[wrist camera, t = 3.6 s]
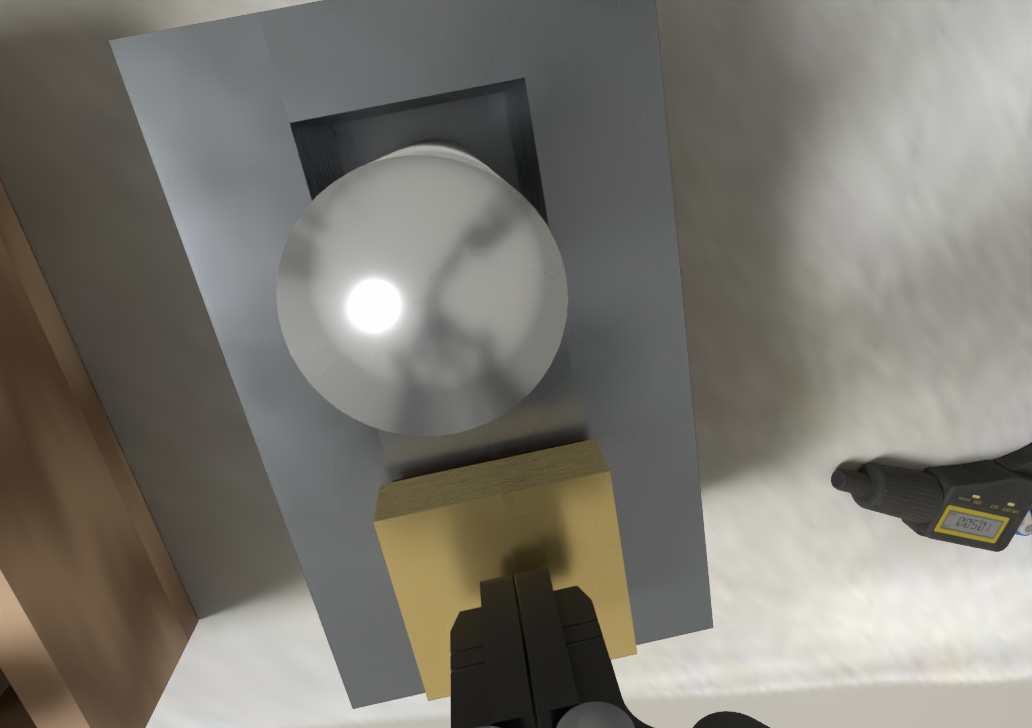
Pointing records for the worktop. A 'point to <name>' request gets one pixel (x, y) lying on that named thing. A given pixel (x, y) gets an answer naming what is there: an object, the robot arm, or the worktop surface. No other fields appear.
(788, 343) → the worktop surface
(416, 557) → the yellow square-headed peg
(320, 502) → the tool block
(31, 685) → the bit rack
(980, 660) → the worktop surface
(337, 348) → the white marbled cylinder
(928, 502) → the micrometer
